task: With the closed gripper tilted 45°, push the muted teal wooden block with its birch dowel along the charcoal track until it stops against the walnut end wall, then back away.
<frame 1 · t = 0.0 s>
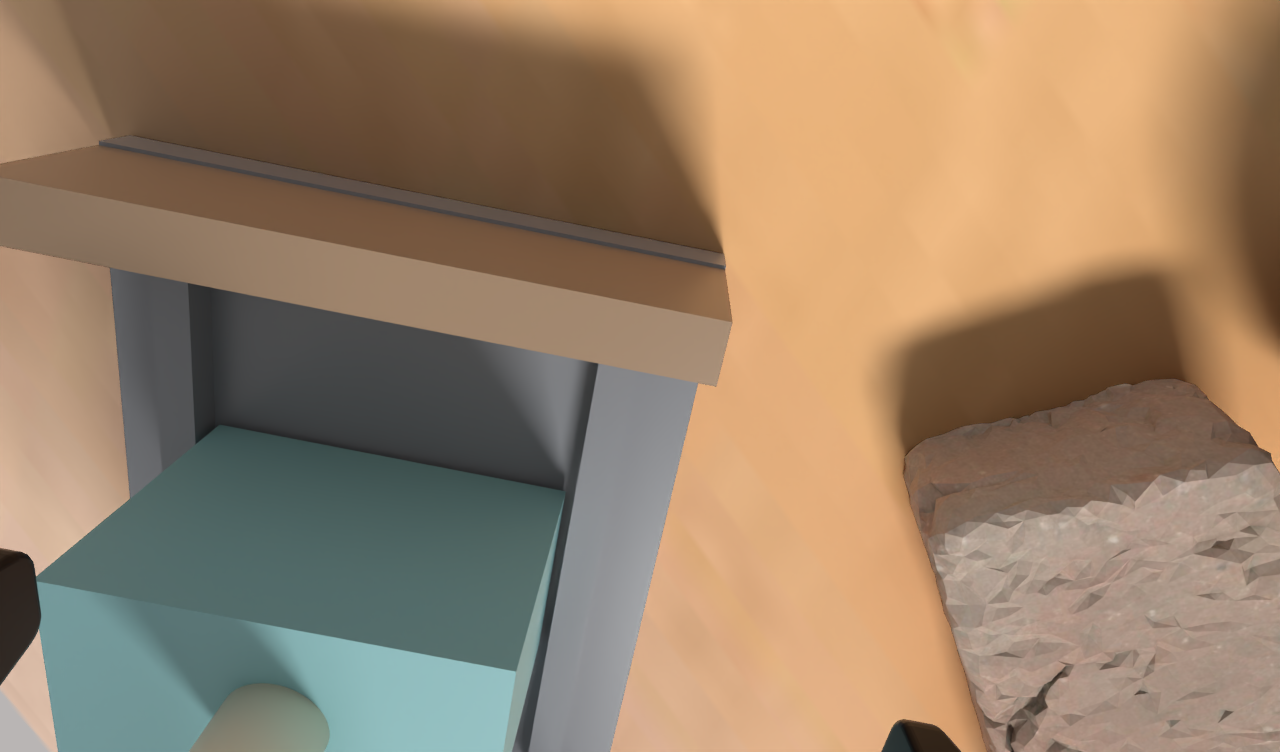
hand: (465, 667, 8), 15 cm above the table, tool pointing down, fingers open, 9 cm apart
track: (405, 494, 25), on the table
dowel block: (296, 690, 18), point 8 cm above the table, slide at 0.0 cm
brick: (1073, 616, 26), on the table
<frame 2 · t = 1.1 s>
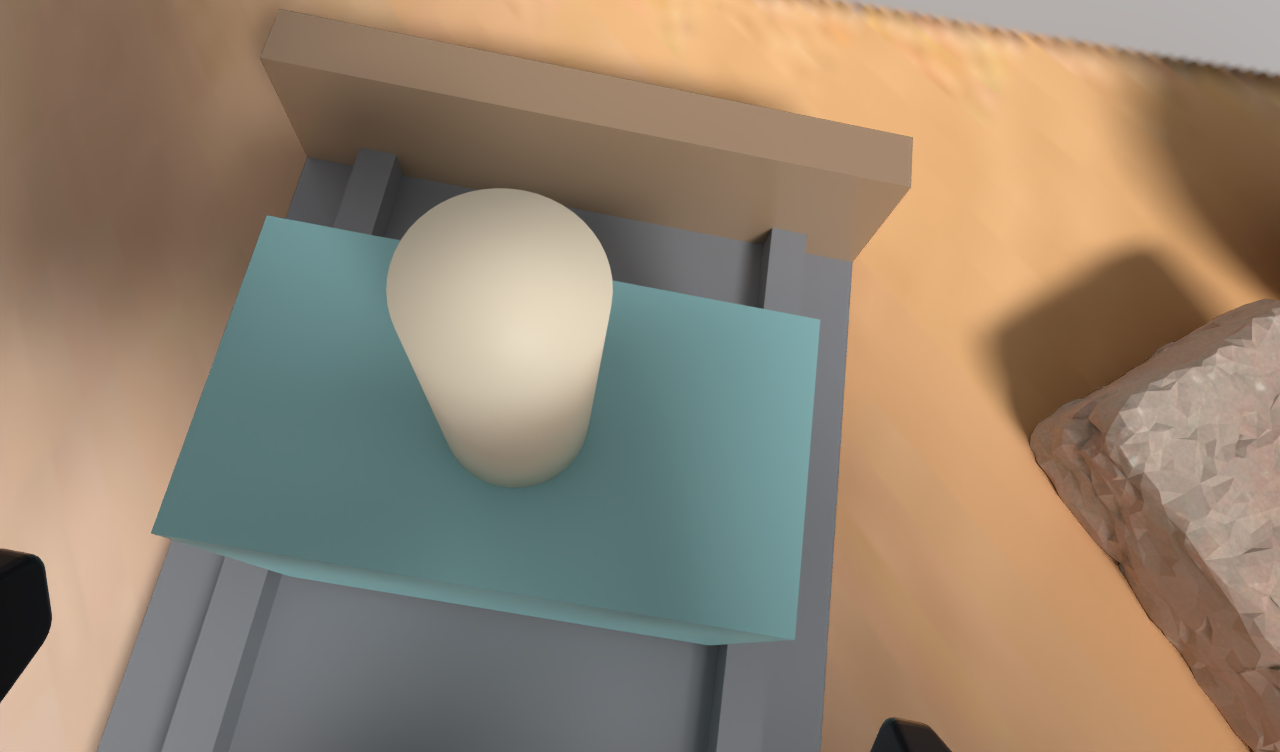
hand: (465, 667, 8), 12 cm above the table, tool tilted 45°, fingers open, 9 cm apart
track: (532, 484, 21), on the table
dowel block: (518, 432, 14), point 8 cm above the table, slide at 0.0 cm
brick: (1279, 620, 23), on the table
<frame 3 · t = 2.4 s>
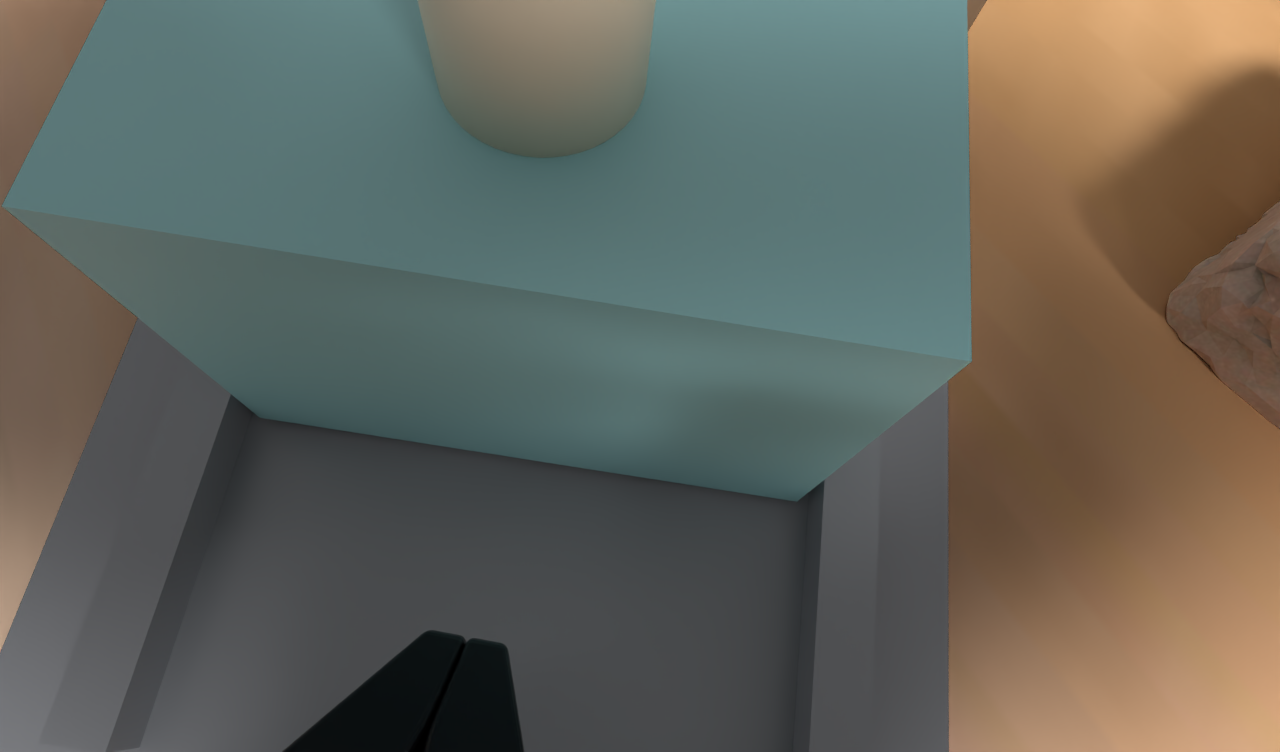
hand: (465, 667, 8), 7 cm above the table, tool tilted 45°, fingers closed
track: (563, 327, 17), on the table
dowel block: (545, 126, 10), point 7 cm above the table, slide at 0.0 cm
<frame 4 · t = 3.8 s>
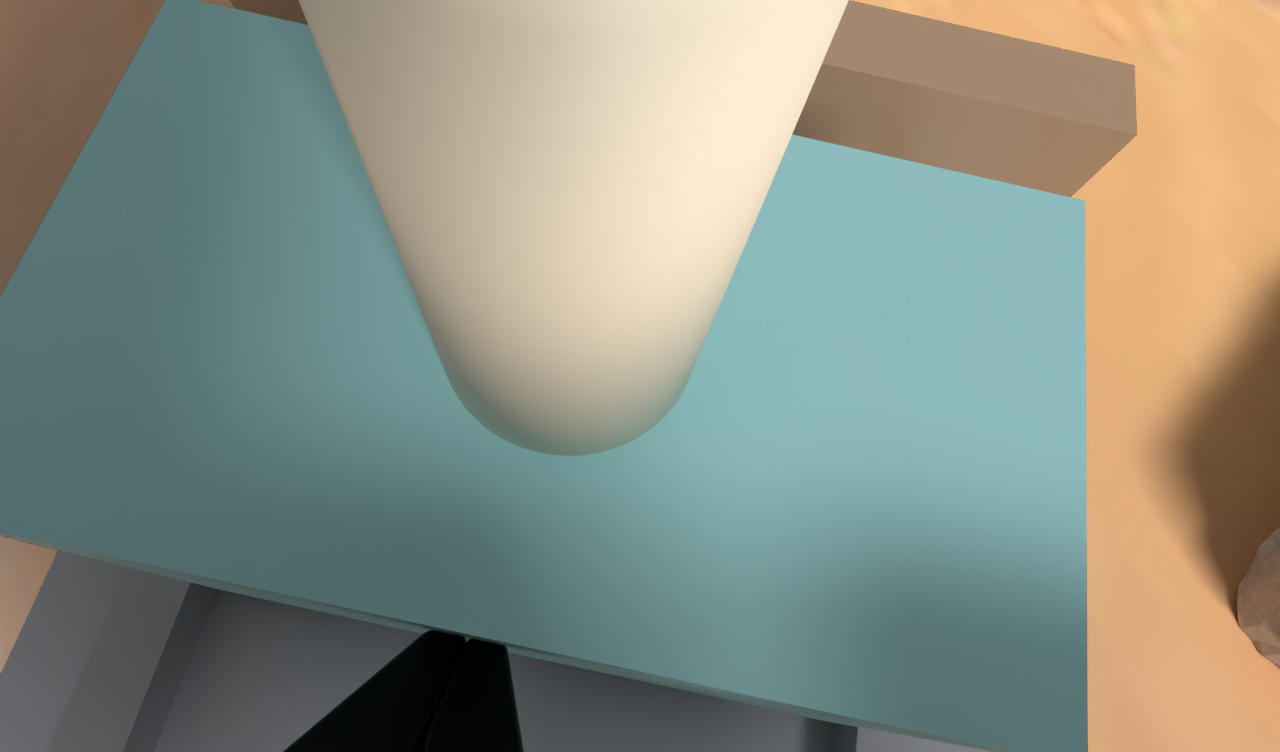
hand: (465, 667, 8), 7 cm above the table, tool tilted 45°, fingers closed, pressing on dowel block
track: (557, 548, 15), on the table
dowel block: (569, 369, 8), point 8 cm above the table, slide at 1.4 cm, touching gripper
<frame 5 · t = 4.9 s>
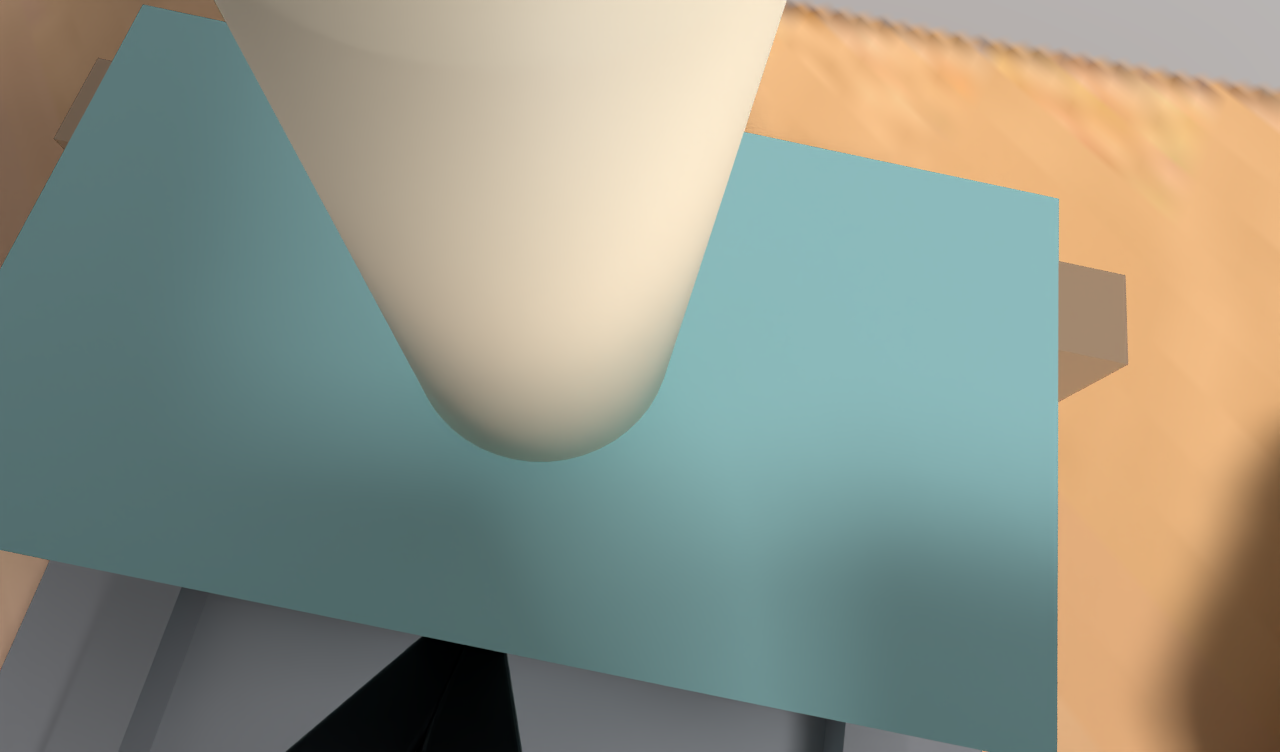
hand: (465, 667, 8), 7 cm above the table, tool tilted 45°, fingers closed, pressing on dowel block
dowel block: (546, 374, 8), point 8 cm above the table, slide at 5.7 cm, touching gripper, track
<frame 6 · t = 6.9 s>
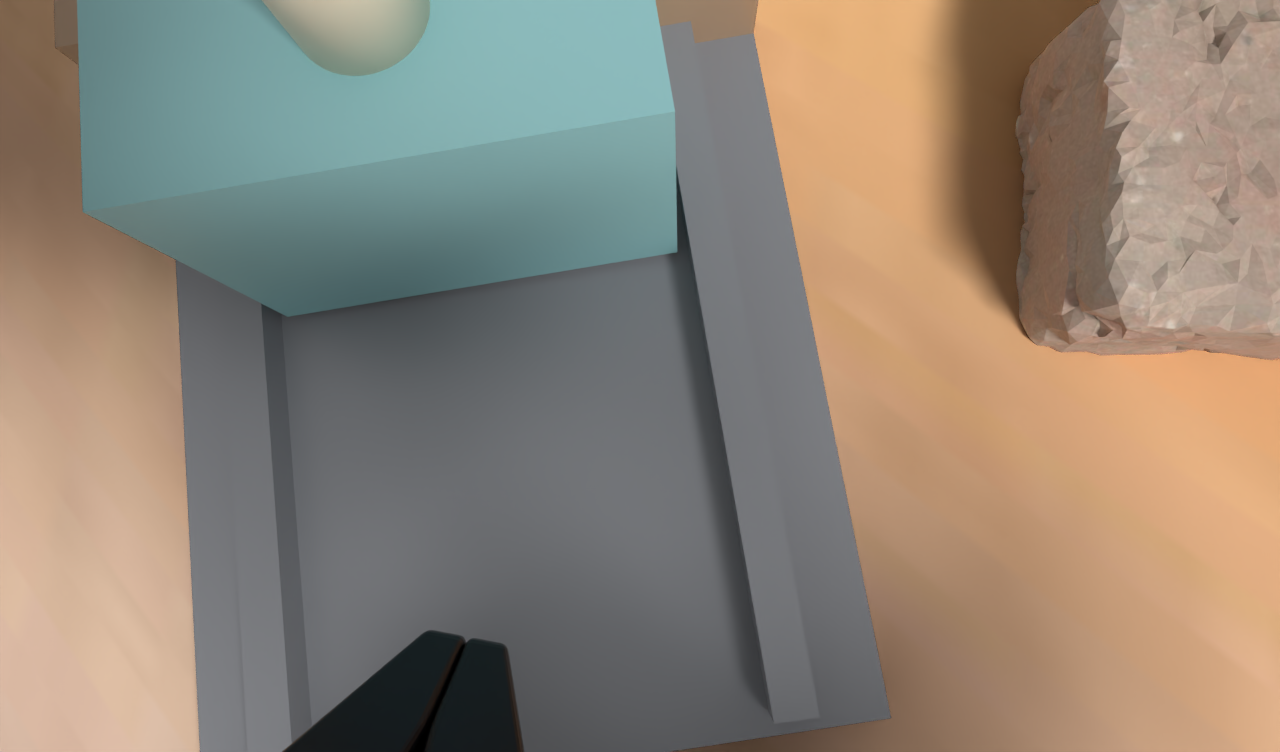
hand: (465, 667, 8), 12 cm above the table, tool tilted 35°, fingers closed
track: (504, 376, 21), on the table
dowel block: (382, 45, 15), point 8 cm above the table, slide at 5.5 cm
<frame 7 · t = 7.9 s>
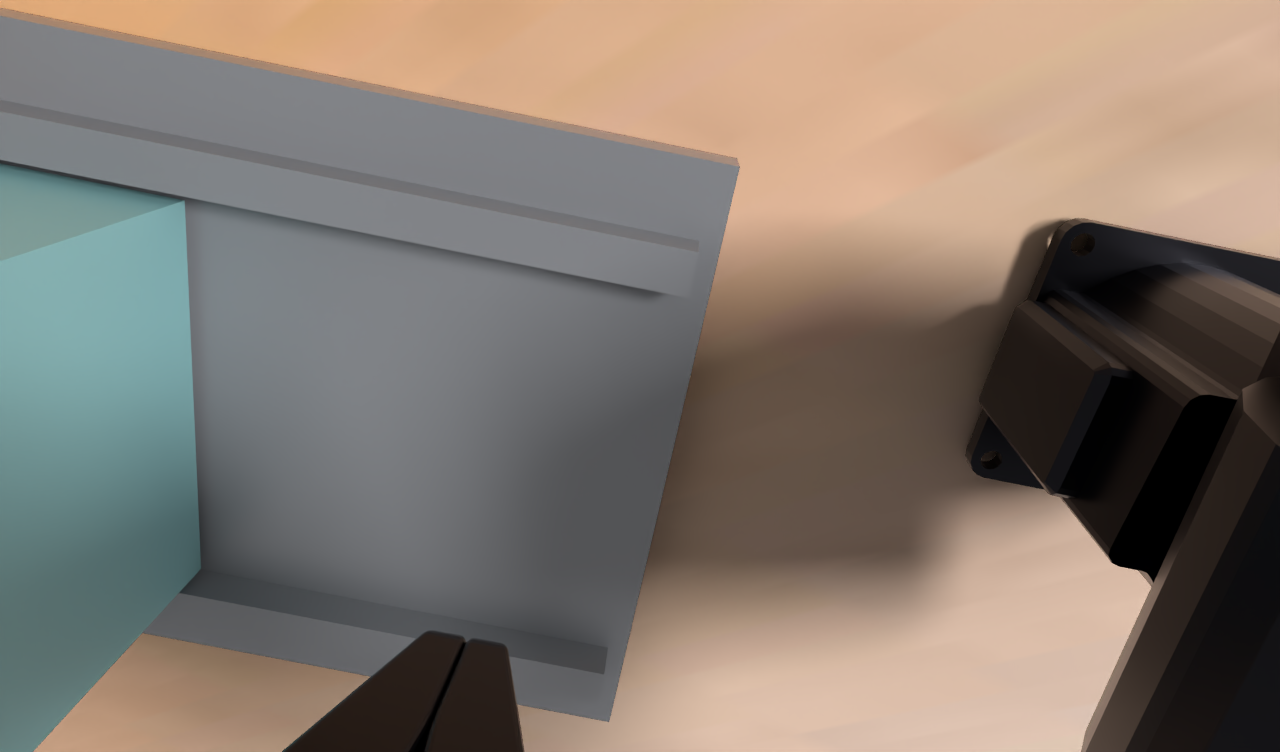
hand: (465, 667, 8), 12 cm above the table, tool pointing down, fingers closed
track: (307, 394, 21), on the table
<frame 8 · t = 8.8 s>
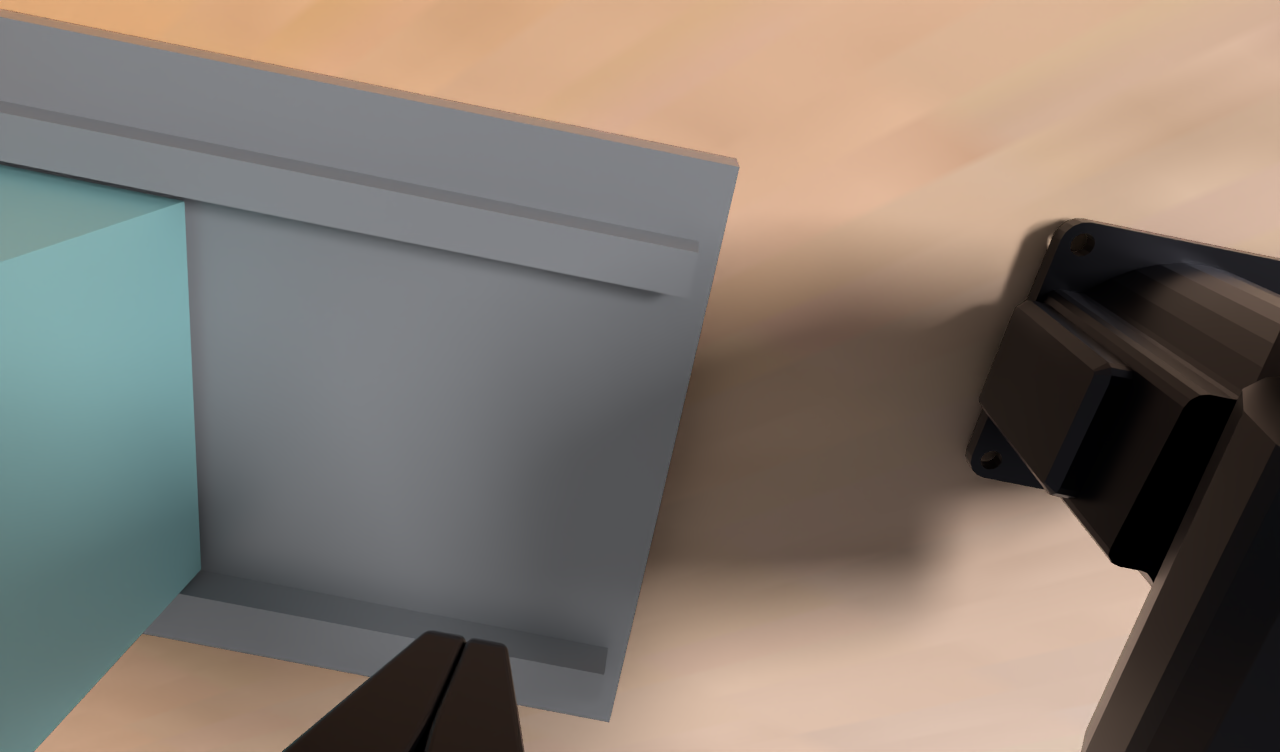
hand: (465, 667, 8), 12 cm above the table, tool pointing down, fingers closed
track: (307, 395, 21), on the table
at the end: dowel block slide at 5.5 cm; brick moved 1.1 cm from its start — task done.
